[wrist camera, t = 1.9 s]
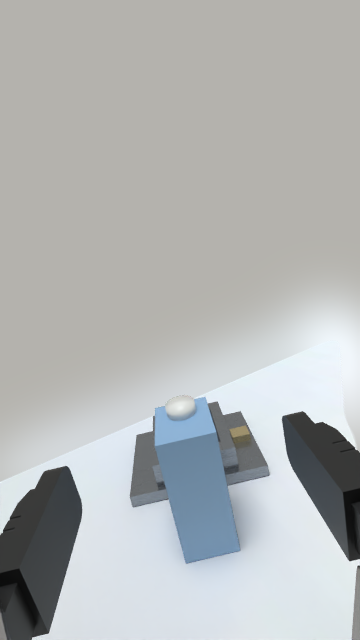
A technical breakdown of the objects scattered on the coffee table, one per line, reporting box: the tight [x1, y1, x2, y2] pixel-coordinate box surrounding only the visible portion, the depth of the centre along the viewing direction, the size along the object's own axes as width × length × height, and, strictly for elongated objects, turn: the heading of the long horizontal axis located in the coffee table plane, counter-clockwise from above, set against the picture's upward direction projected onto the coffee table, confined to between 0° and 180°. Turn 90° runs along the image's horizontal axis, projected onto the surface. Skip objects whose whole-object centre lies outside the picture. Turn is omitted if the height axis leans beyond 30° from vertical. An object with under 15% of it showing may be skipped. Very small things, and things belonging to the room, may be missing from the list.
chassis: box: [130, 402, 269, 507], centre depth 34 cm, size 14×10×4 cm
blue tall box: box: [155, 395, 240, 563], centre depth 24 cm, size 4×5×12 cm
